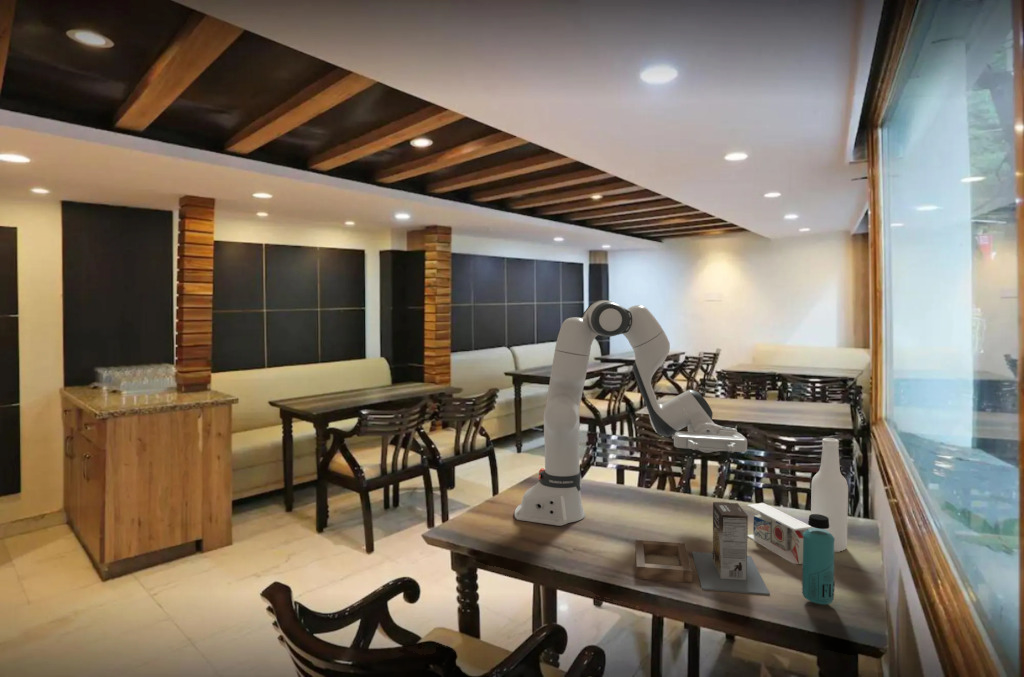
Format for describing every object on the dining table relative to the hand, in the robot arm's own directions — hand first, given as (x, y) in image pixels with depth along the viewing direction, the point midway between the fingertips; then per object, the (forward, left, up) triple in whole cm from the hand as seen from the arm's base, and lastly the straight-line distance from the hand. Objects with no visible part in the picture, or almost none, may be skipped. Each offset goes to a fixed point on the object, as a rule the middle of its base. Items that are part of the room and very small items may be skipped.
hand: (713, 448), depth 158 cm
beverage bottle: (+18, -30, -27) cm, 44 cm away
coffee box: (+1, -18, -27) cm, 32 cm away
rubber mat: (+1, -18, -27) cm, 33 cm away
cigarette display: (+17, -1, -27) cm, 32 cm away
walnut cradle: (-15, -17, -27) cm, 35 cm away
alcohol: (+31, +3, -27) cm, 41 cm away
